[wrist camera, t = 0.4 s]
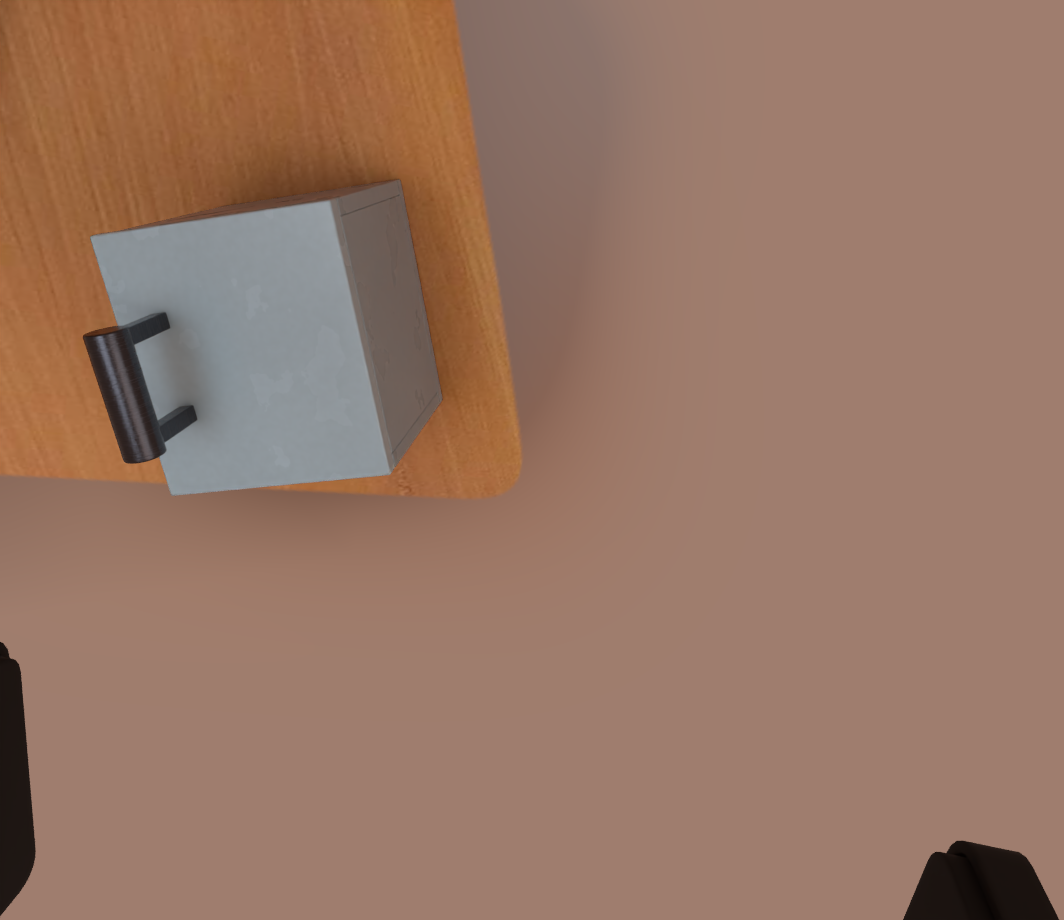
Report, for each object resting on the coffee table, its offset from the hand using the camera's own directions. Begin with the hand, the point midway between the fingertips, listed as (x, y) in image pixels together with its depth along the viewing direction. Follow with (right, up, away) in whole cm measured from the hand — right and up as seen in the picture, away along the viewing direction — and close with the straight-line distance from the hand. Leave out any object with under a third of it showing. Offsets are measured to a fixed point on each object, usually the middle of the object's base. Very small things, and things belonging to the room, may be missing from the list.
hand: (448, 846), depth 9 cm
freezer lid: (-11, +8, +28) cm, 32 cm away
